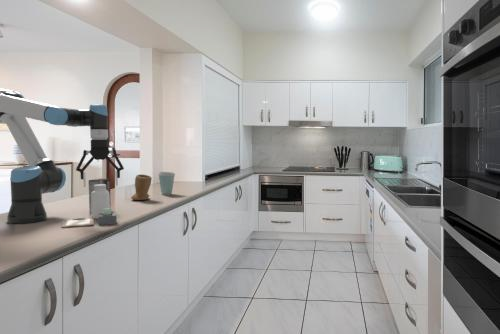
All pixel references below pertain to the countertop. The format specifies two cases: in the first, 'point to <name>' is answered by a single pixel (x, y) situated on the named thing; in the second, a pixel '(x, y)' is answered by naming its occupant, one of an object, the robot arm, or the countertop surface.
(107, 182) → the coffee box
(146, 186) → the stone cup
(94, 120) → the robot arm
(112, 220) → the button housing
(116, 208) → the countertop surface
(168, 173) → the disposable coffee cup
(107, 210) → the button
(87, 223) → the clipboard
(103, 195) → the pill bottle
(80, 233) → the countertop surface
